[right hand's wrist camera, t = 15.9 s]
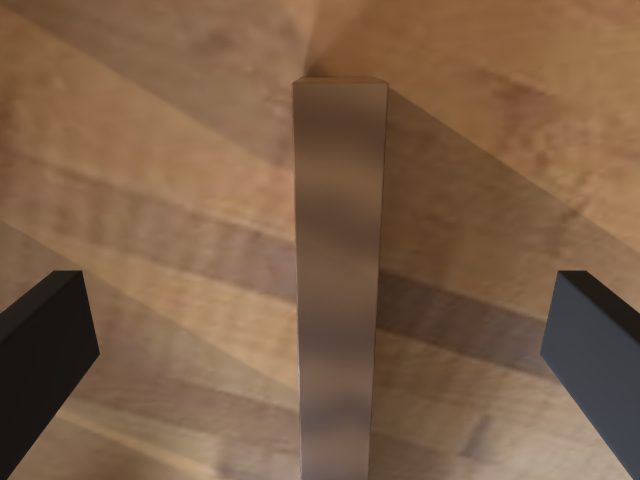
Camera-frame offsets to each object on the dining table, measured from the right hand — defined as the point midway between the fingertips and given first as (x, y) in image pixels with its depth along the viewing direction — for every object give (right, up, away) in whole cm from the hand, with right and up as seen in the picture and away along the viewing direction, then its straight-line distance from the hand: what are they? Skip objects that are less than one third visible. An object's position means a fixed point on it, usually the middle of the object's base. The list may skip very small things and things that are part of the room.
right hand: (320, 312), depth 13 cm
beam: (+1, -12, +25) cm, 28 cm away
